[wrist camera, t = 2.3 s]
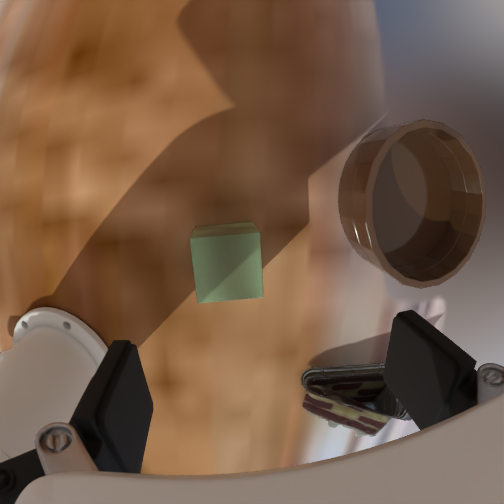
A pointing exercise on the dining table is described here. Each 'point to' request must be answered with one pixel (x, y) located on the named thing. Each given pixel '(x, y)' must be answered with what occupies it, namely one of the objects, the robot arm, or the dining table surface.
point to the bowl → (413, 202)
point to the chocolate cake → (352, 397)
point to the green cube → (227, 262)
